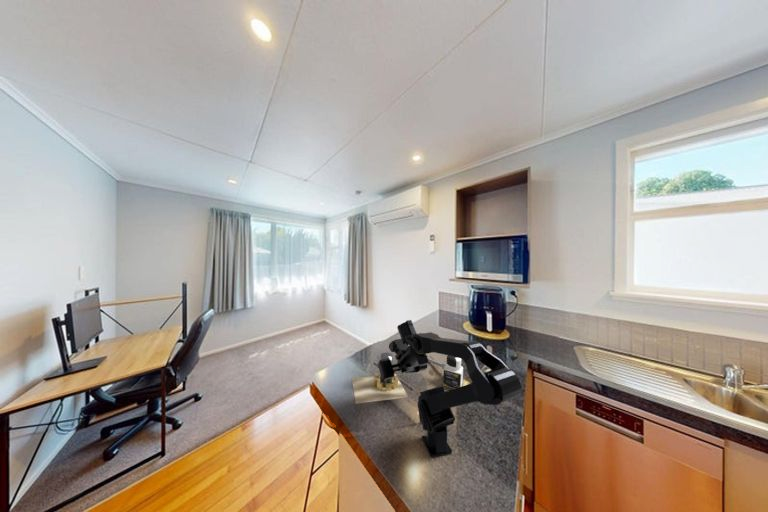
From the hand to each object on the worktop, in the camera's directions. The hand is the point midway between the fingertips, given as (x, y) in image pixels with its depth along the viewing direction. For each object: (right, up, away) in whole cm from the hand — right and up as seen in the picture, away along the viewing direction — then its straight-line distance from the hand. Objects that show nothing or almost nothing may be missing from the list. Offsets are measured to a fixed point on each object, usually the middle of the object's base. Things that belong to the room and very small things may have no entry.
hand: (394, 373), depth 82 cm
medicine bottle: (+26, -10, +10) cm, 29 cm away
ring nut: (-4, -8, +6) cm, 11 cm away
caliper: (+23, -10, +22) cm, 33 cm away
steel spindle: (-4, -8, +6) cm, 11 cm away
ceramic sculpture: (+42, -11, +10) cm, 44 cm away
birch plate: (-7, -9, +4) cm, 12 cm away
